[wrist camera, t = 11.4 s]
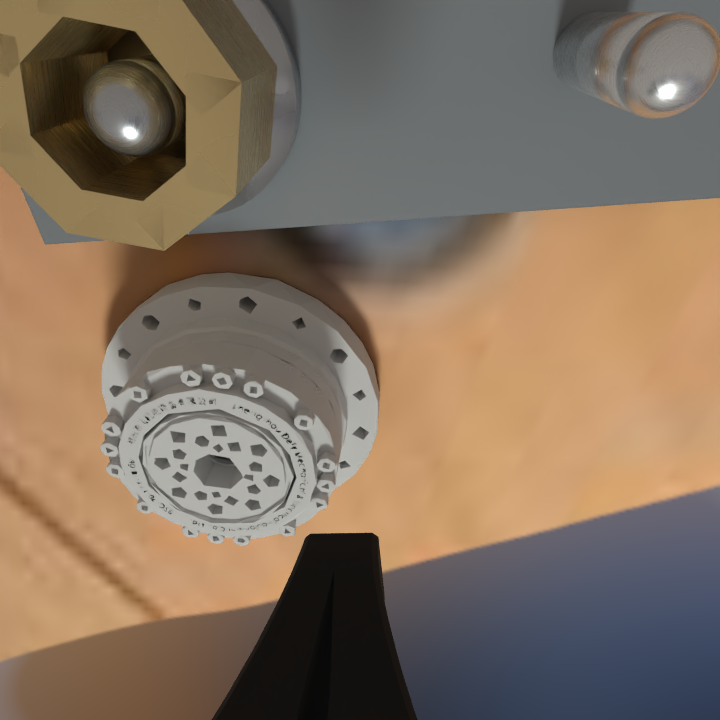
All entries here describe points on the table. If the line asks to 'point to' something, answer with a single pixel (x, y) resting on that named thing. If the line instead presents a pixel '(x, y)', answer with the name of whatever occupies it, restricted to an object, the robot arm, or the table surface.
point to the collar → (95, 159)
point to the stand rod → (639, 59)
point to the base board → (461, 119)
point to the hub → (168, 103)
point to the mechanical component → (236, 405)
